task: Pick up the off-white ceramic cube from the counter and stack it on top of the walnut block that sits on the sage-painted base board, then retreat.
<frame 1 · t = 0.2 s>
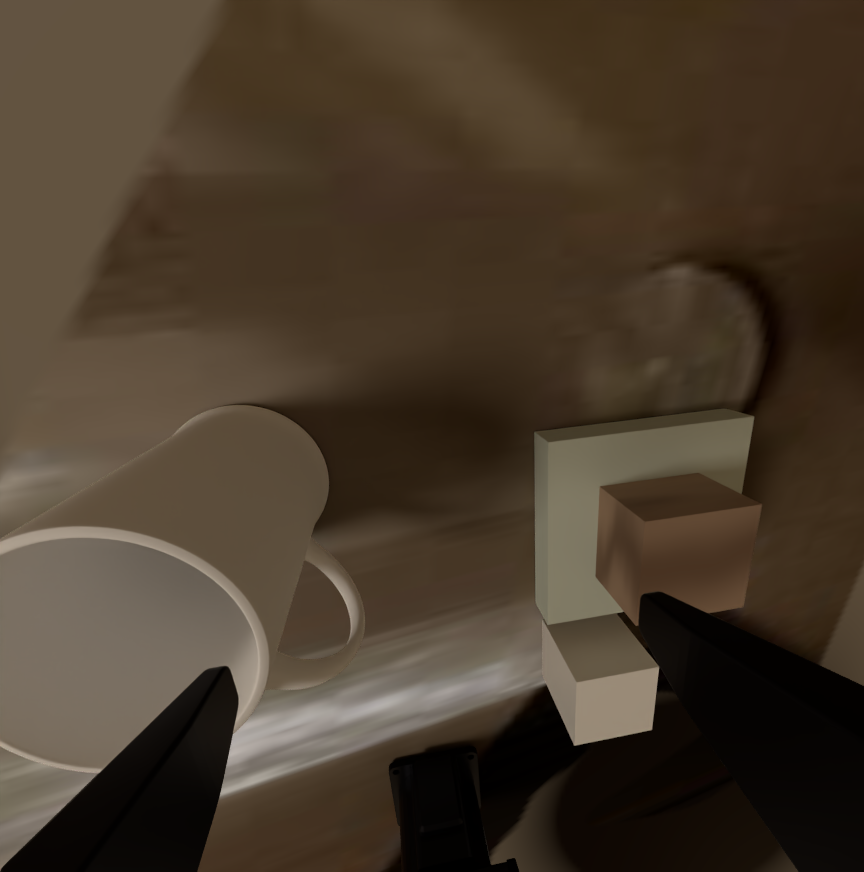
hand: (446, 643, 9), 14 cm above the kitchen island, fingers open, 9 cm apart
ceramic cube: (575, 641, 28), on the kitchen island
base board: (625, 510, 25), on the kitchen island
walnut block: (645, 526, 24), point 2 cm above the kitchen island, touching base board
mug: (275, 496, 22), on the kitchen island
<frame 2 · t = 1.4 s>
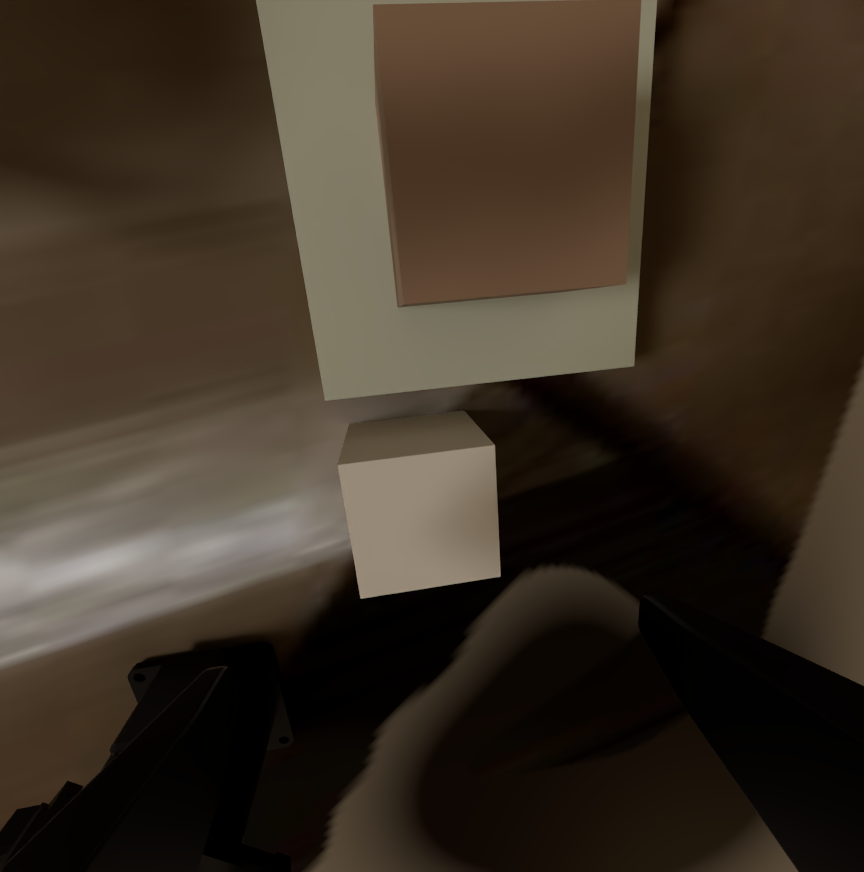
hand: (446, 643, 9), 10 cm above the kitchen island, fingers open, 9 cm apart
ceramic cube: (413, 469, 18), on the kitchen island
base board: (464, 219, 15), on the kitchen island
walnut block: (476, 205, 13), point 2 cm above the kitchen island, touching base board
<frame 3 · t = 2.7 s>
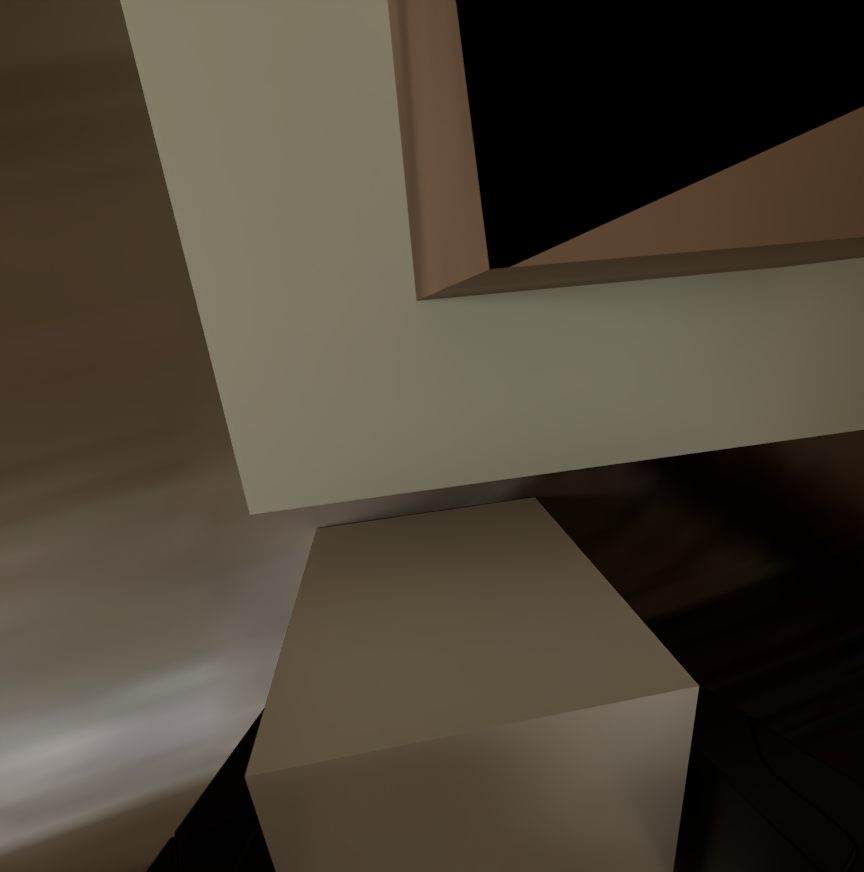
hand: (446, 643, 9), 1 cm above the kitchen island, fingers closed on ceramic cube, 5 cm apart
ceramic cube: (438, 603, 10), on the kitchen island, touching gripper
base board: (556, 112, 7), on the kitchen island
walnut block: (621, 37, 5), point 2 cm above the kitchen island, touching base board
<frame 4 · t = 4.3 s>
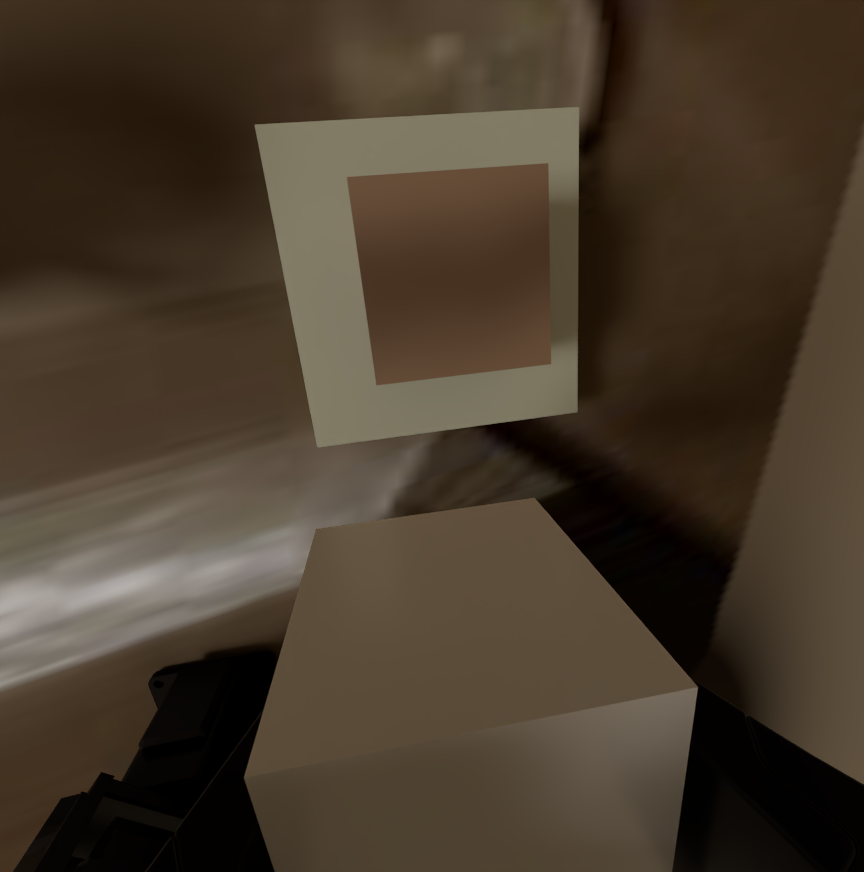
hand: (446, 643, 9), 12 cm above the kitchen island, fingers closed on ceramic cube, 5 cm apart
ceramic cube: (437, 604, 10), point 11 cm above the kitchen island, touching gripper
base board: (432, 292, 18), on the kitchen island
walnut block: (439, 289, 16), point 2 cm above the kitchen island, touching base board
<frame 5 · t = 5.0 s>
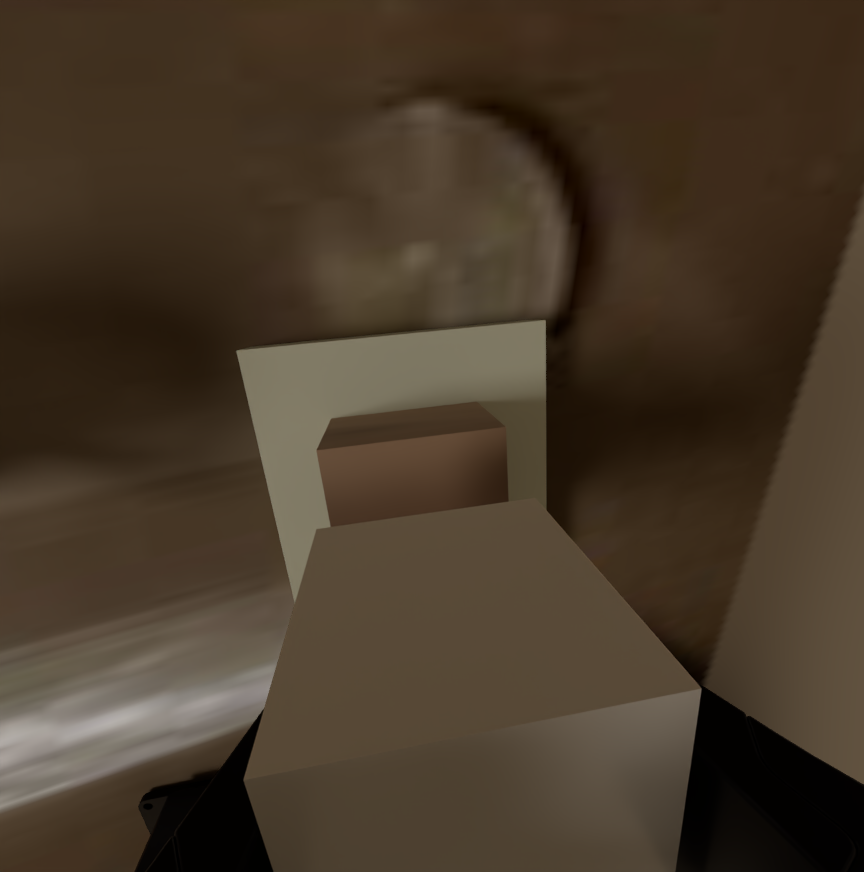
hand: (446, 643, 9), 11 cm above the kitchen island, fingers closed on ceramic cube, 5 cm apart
ceramic cube: (438, 604, 10), point 10 cm above the kitchen island, touching gripper
base board: (409, 461, 19), on the kitchen island
walnut block: (412, 477, 17), point 2 cm above the kitchen island, touching base board
when the fingers open (9 cm above the kitchen island, at t = 5.7 s): ceramic cube drops 1 cm, resting on walnut block.
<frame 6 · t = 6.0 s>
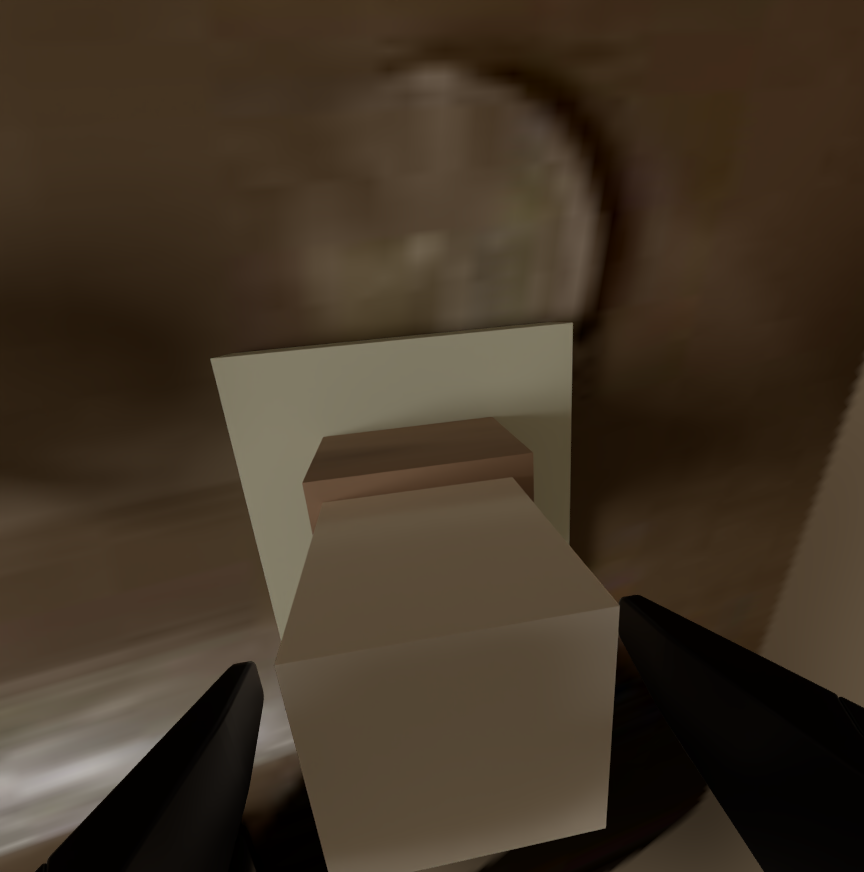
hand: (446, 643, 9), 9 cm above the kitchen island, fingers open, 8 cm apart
ceramic cube: (428, 570, 11), point 6 cm above the kitchen island, touching walnut block
base board: (413, 482, 17), on the kitchen island
walnut block: (417, 503, 15), point 2 cm above the kitchen island, touching base board, ceramic cube
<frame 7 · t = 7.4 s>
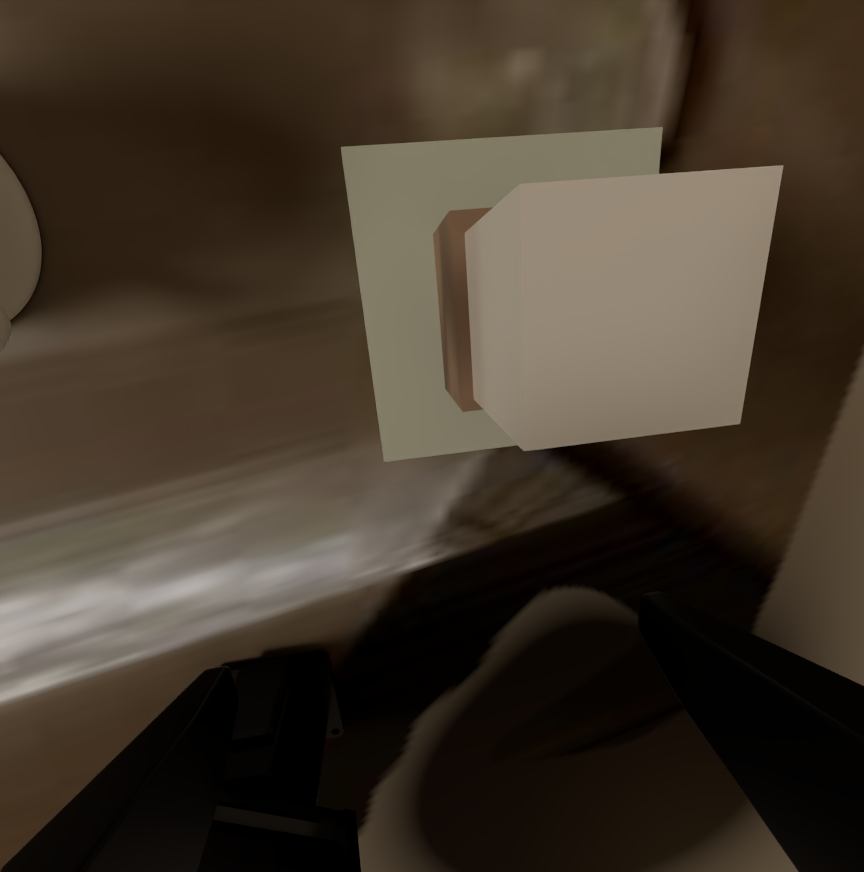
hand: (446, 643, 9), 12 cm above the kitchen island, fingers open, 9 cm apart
ceramic cube: (546, 313, 13), point 6 cm above the kitchen island, touching walnut block
base board: (498, 308, 18), on the kitchen island
walnut block: (511, 308, 16), point 2 cm above the kitchen island, touching base board, ceramic cube
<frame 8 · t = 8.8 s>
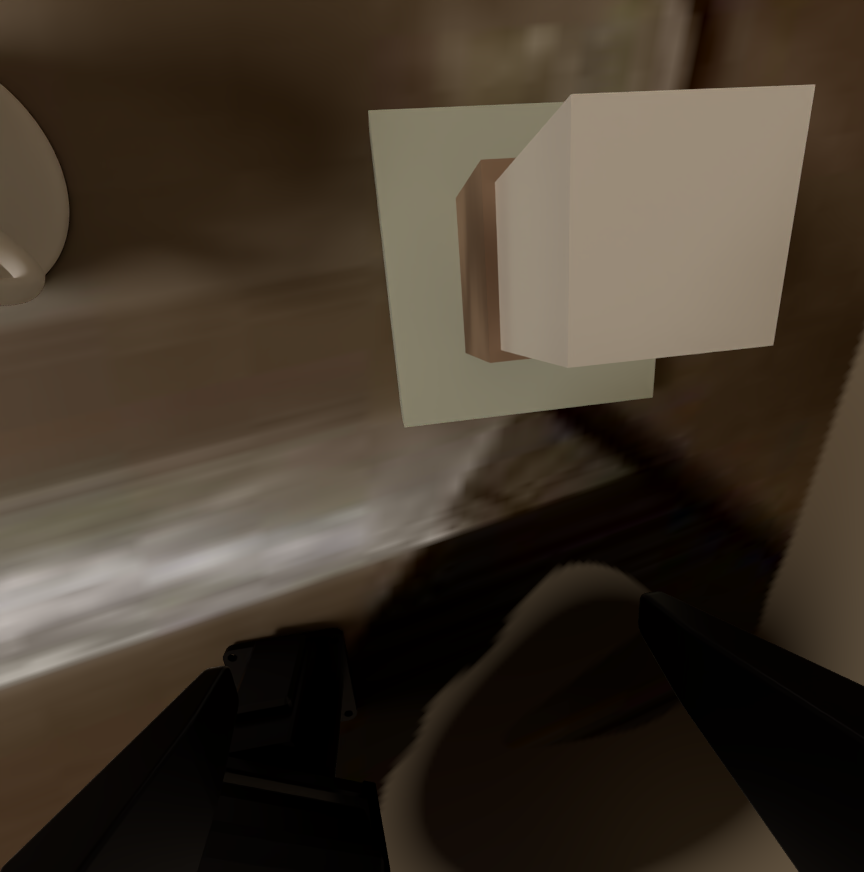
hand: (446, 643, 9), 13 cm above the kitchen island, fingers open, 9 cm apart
ceramic cube: (572, 264, 13), point 6 cm above the kitchen island, touching walnut block
base board: (514, 278, 19), on the kitchen island
walnut block: (530, 273, 17), point 2 cm above the kitchen island, touching base board, ceramic cube
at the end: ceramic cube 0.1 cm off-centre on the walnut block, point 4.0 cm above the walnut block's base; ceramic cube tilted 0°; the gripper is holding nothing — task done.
